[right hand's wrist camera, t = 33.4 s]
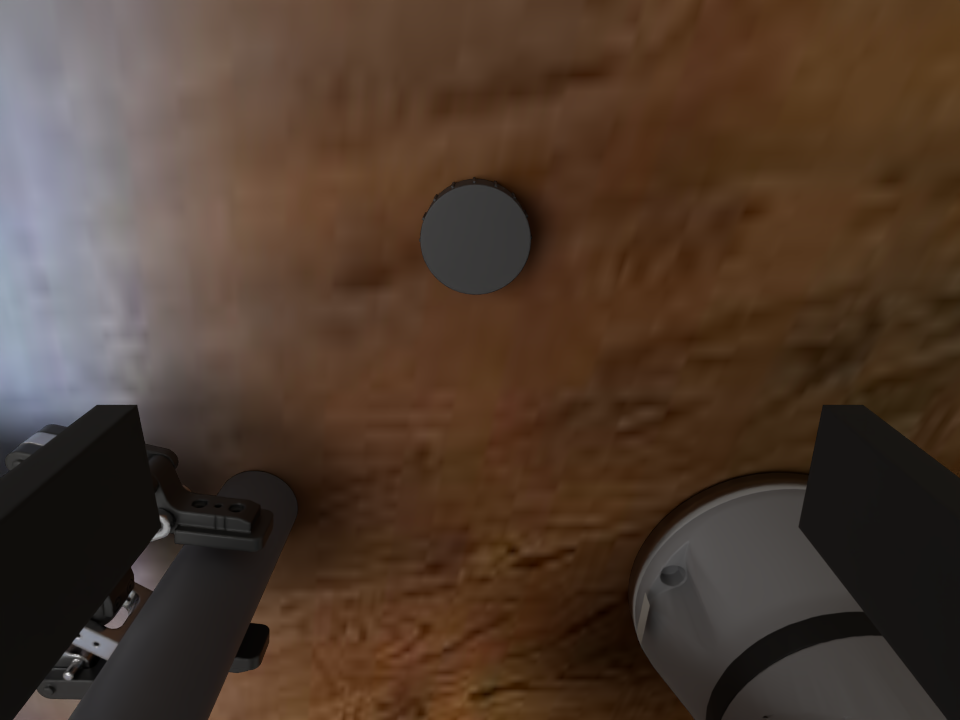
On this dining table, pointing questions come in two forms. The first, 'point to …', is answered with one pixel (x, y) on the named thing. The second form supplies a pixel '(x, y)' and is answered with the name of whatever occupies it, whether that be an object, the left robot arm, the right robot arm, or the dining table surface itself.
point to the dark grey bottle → (192, 622)
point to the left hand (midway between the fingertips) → (265, 591)
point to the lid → (475, 236)
